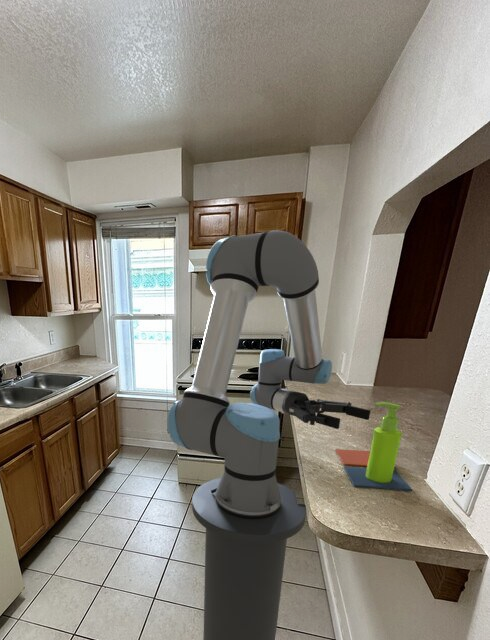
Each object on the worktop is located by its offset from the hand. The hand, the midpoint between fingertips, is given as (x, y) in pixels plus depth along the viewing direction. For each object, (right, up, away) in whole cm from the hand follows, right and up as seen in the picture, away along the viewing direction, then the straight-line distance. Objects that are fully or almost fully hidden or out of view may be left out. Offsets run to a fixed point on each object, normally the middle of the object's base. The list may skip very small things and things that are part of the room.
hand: (354, 419), depth 95 cm
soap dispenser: (+5, -16, -2) cm, 16 cm away
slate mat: (+5, -16, -2) cm, 17 cm away
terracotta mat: (+8, -11, +10) cm, 17 cm away
